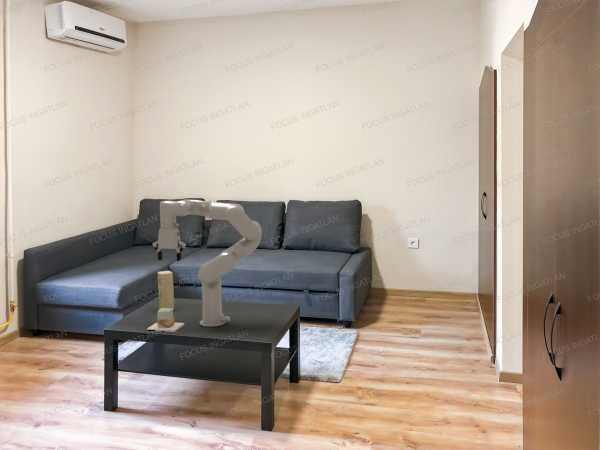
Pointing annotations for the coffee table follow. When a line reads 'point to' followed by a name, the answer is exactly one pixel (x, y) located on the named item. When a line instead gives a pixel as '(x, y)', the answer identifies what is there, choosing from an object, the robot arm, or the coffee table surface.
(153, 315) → the coffee table surface
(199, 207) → the robot arm
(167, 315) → the sage block
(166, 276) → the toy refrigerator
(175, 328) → the baseplate
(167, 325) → the oak block
